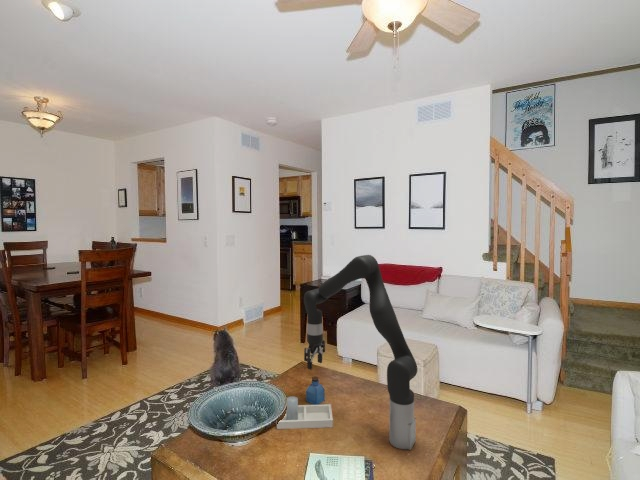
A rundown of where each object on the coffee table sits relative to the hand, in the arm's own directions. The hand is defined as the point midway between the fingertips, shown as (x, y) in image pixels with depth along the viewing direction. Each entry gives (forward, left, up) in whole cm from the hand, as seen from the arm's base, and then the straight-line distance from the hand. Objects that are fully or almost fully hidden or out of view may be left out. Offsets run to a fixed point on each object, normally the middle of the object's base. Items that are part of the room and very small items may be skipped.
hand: (315, 365), depth 160 cm
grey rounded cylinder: (0, +18, -17) cm, 25 cm away
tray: (-5, +15, -18) cm, 24 cm away
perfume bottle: (0, 0, -18) cm, 18 cm away
